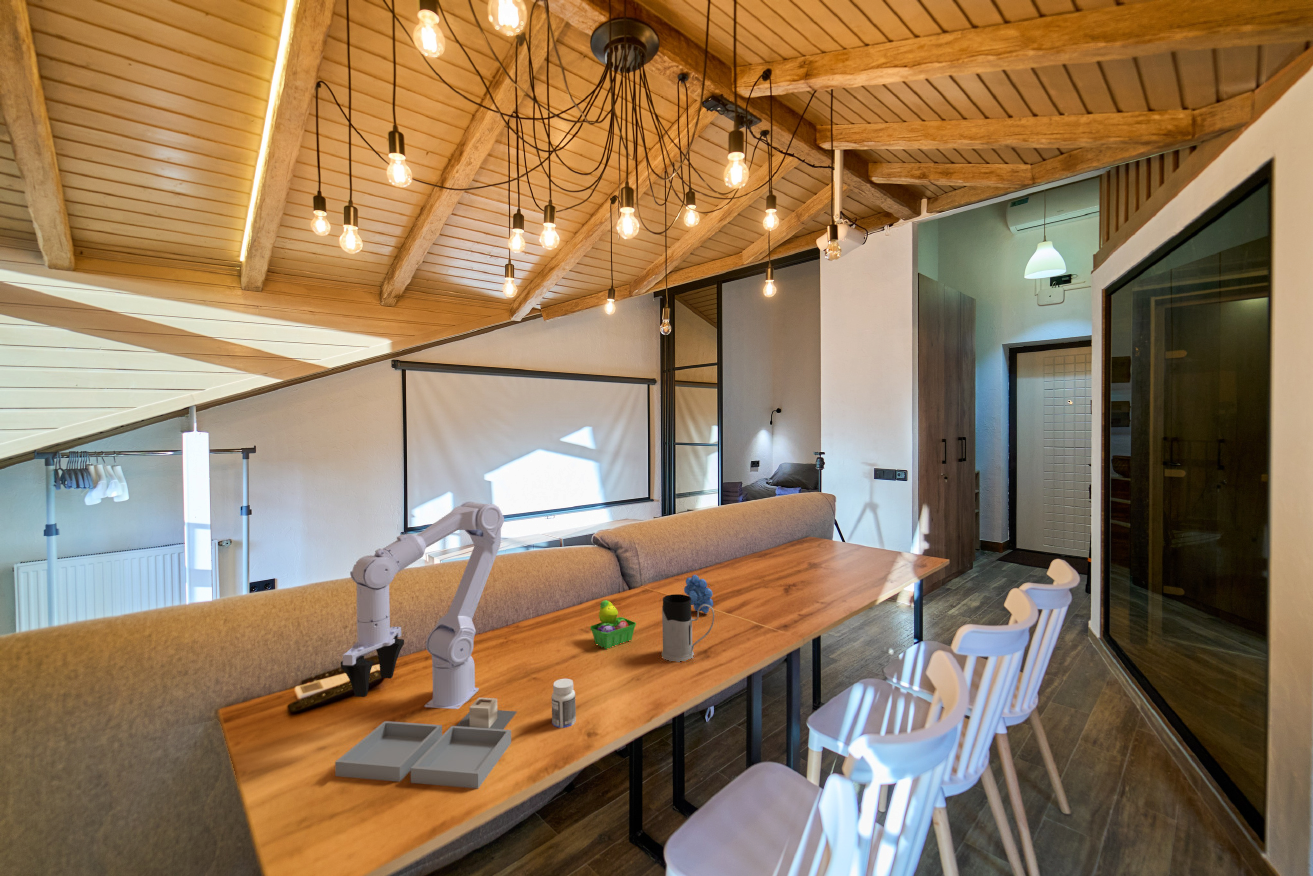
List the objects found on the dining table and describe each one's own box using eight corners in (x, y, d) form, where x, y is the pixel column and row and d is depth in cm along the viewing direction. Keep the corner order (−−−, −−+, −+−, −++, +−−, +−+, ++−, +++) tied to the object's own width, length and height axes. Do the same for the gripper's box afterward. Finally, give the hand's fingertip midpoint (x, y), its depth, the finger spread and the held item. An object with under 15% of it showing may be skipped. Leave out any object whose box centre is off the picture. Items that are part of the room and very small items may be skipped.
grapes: (676, 611, 175) (676, 575, 175) (689, 606, 180) (688, 571, 180) (704, 619, 167) (704, 581, 167) (717, 614, 172) (716, 577, 172)
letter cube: (479, 717, 109) (478, 696, 109) (497, 718, 109) (497, 697, 109) (469, 727, 105) (469, 706, 105) (488, 728, 105) (488, 707, 105)
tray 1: (385, 736, 104) (384, 721, 104) (442, 740, 102) (441, 725, 102) (335, 779, 91) (335, 761, 91) (399, 785, 89) (399, 767, 89)
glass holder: (664, 647, 145) (663, 592, 145) (716, 651, 142) (715, 595, 142) (658, 660, 137) (657, 602, 137) (713, 665, 134) (712, 605, 134)
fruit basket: (605, 652, 143) (604, 610, 143) (586, 643, 149) (586, 603, 149) (637, 641, 150) (637, 601, 150) (618, 632, 157) (618, 594, 157)
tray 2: (451, 741, 102) (451, 725, 102) (511, 746, 100) (511, 730, 100) (410, 786, 89) (410, 768, 89) (478, 792, 87) (478, 773, 87)
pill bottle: (577, 717, 110) (576, 677, 110) (574, 730, 105) (573, 688, 105) (554, 718, 109) (553, 677, 109) (550, 731, 105) (549, 688, 105)
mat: (472, 711, 113) (472, 708, 113) (517, 714, 111) (517, 711, 111) (447, 738, 103) (447, 734, 103) (496, 741, 101) (496, 738, 101)
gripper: (366, 631, 97) (367, 706, 97) (414, 606, 111) (415, 671, 111) (331, 630, 98) (333, 704, 98) (383, 605, 112) (384, 669, 112)
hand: (374, 686), depth 104 cm, fingers open, 7 cm apart
